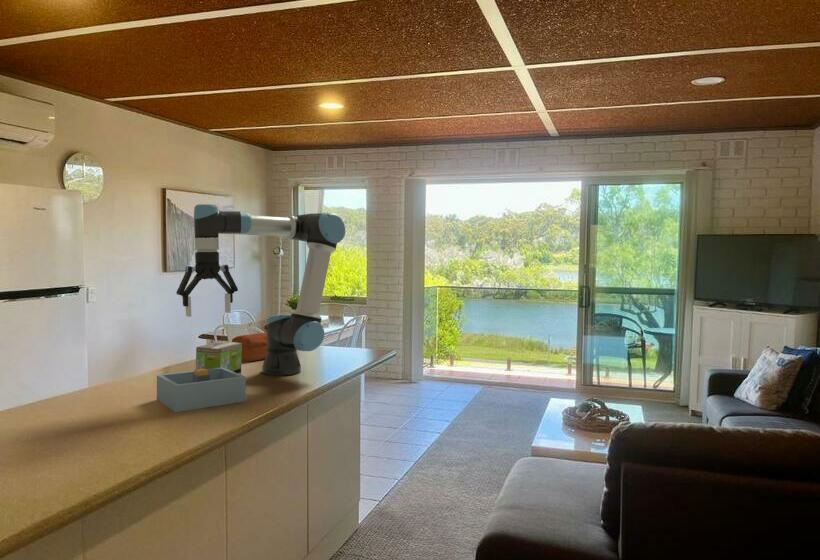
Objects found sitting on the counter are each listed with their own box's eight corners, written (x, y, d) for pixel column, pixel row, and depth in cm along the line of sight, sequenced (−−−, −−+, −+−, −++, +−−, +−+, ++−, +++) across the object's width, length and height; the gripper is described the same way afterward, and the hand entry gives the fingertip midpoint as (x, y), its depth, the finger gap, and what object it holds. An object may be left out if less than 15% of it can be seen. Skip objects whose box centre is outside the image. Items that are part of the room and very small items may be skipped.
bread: (225, 359, 262) (225, 335, 261) (270, 351, 284) (271, 329, 284) (248, 363, 253) (248, 338, 253) (293, 355, 275) (294, 332, 275)
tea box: (220, 390, 204) (220, 348, 203) (194, 388, 206) (194, 346, 205) (242, 381, 219) (242, 341, 218) (217, 379, 221) (217, 340, 220)
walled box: (222, 390, 205) (223, 367, 204) (245, 401, 191) (245, 376, 190) (156, 399, 190) (156, 375, 190) (176, 412, 177) (176, 385, 176)
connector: (209, 400, 190) (209, 370, 190) (197, 402, 188) (197, 371, 187) (204, 398, 193) (205, 368, 193) (192, 400, 191) (192, 369, 190)
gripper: (237, 250, 208) (238, 310, 210) (164, 251, 191) (166, 316, 193) (246, 250, 203) (248, 312, 204) (173, 252, 186) (175, 319, 187)
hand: (208, 314), depth 199 cm, fingers open, 13 cm apart
